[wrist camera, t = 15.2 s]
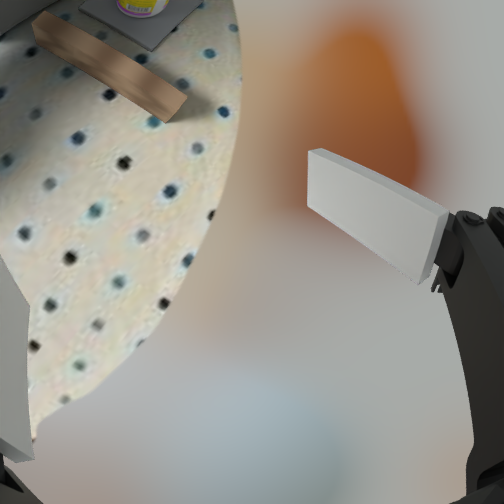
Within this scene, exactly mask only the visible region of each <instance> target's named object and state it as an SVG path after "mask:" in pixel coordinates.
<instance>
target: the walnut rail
mask: <svg viewBox="0 0 504 504" xmlns="http://www.w3.org/2000/svg"><path fill="white" fill-rule="evenodd" d="M31 24H32V28H33V32H34V36H35V40H36V43H37V45H39V46H41V47H43V48H45V49H46V50H48V51H50V52H52V53H53V54H55V55H57V56H59V57H60V58H62V59H64V60H66V61H67V62H69V63H71V64H72V65H74V66H76V67H77V68H79V69H81V70H82V71H84V72H86V73H87V74H89V75H91V76H92V77H94V78H96V79H97V80H99V81H101V82H102V83H104V84H105V85H107V86H109V87H110V88H112V89H113V90H115V91H117V92H118V93H120V94H121V95H123V96H124V97H126V98H128V99H129V100H131V101H132V102H134V103H135V104H137V105H138V106H140V107H141V108H143V109H145V110H146V111H148V112H149V113H151V114H152V115H154V116H155V117H157V118H158V119H160V120H161V121H163V122H164V123H166V122H167V121H168V120H169V119H170V118H171V117H172V116H173V115H174V114H175V113H176V112H177V111H178V109H179V108H180V107H181V105H182V104H183V103H184V101H185V100H186V99H187V98H188V96H186V95H185V94H183V93H182V92H181V91H179V90H178V89H176V88H175V87H173V86H172V85H170V84H169V83H167V82H166V81H164V80H163V79H161V78H160V77H158V76H157V75H155V74H154V73H152V72H151V71H149V70H148V69H146V68H145V67H143V66H142V65H140V64H138V63H137V62H135V61H134V60H132V59H130V58H129V57H127V56H126V55H124V54H122V53H121V52H119V51H117V50H116V49H114V48H113V47H111V46H109V45H107V44H106V43H104V42H102V41H101V40H99V39H97V38H95V37H94V36H92V35H90V34H88V33H87V32H85V31H83V30H81V29H80V28H78V27H76V26H74V25H72V24H70V23H68V22H67V21H65V20H63V19H61V18H59V17H57V16H55V15H53V14H51V13H49V12H47V11H45V10H44V11H43V12H42V13H41V14H40V15H39V16H38V17H37V18H36V19H35V20H34V21H33V22H32V23H31Z"/></svg>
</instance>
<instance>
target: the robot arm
mask: <svg viewBox="0 0 504 504" xmlns="http://www.w3.org/2000/svg"><path fill="white" fill-rule="evenodd" d="M307 206H308V207H309V208H311V209H313V210H314V211H315V212H317V213H318V214H320V215H322V216H323V217H324V218H326V219H327V220H329V221H330V222H332V223H333V224H335V225H336V226H338V227H339V228H340V229H342V230H343V231H345V232H346V233H348V234H349V235H350V236H352V237H353V238H355V239H356V240H357V241H359V242H361V243H362V244H363V245H364V246H366V247H367V248H369V249H370V250H371V251H373V252H374V253H376V254H377V255H378V256H380V257H381V258H382V259H384V260H385V261H386V262H388V263H389V264H390V265H392V266H393V267H394V268H396V269H397V270H399V271H400V272H401V273H402V274H404V275H405V276H406V277H408V278H409V279H410V280H412V281H413V282H414V283H415V284H417V285H419V284H420V283H421V282H423V281H424V280H425V279H427V278H428V277H429V276H430V273H431V270H432V267H433V264H434V263H435V264H436V265H438V266H439V269H438V272H437V274H436V277H435V280H434V282H433V285H432V287H431V292H434V291H435V289H436V286H437V285H439V284H440V287H439V289H438V293H443V295H444V298H445V301H446V304H447V307H448V311H449V314H450V318H451V321H452V325H453V329H454V332H455V336H456V340H457V344H458V348H459V352H460V356H461V361H462V365H463V370H464V375H465V380H466V385H467V391H468V397H469V403H470V410H471V417H472V424H473V432H474V446H473V448H472V450H471V453H470V455H469V457H468V460H467V465H466V496H465V497H463V498H461V499H460V500H458V501H456V502H452V503H450V504H504V208H501V207H491V208H490V210H489V214H488V217H487V219H483V218H482V217H481V216H479V215H477V214H475V213H472V212H469V211H459V212H457V214H456V216H455V215H453V214H451V213H450V211H449V210H447V209H446V208H444V207H442V206H441V205H439V204H437V203H435V202H433V201H431V200H430V199H428V198H426V197H424V196H422V195H421V194H418V193H417V192H415V191H413V190H411V189H409V188H407V187H405V186H403V185H401V184H399V183H397V182H395V181H393V180H391V179H389V178H387V177H385V176H383V175H381V174H379V173H377V172H375V171H373V170H371V169H368V168H366V167H364V166H362V165H360V164H358V163H355V162H353V161H351V160H349V159H346V158H344V157H342V156H339V155H337V154H335V153H332V152H330V151H327V150H325V149H323V148H319V149H314V150H309V151H308V194H307ZM29 313H30V305H29V304H28V302H27V301H26V299H25V297H24V296H23V294H22V292H21V291H20V289H19V287H18V286H17V284H16V282H15V281H14V279H13V277H12V275H11V274H10V272H9V270H8V268H7V266H6V264H5V263H4V261H3V259H2V257H1V255H0V504H43V503H42V502H41V501H40V500H39V499H38V498H37V497H36V496H35V495H34V494H33V493H32V492H31V491H30V490H29V489H28V488H27V487H26V486H25V485H24V484H23V483H22V481H21V480H20V479H19V478H18V477H17V476H16V475H15V474H14V473H13V471H12V470H10V469H9V468H8V467H7V466H5V465H4V461H3V455H4V456H5V457H7V458H8V459H10V460H12V461H14V462H15V463H19V462H24V461H30V460H34V452H33V445H32V438H31V429H30V419H29V406H28V387H27V346H28V326H29Z"/></svg>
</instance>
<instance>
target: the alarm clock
mask: <svg viewBox="0 0 504 504" xmlns="http://www.w3.org/2000/svg"><path fill="white" fill-rule="evenodd" d="M56 1H58V0H0V36H1V35H2V34H4V33H5V32H6V31H8V30H9V29H11V28H12V27H14V26H15V25H17V24H18V23H20V22H22V21H23V20H25V19H26V18H28V17H30V16H31V15H33V14H35V13H36V12H38V11H40V10H41V9H43V8H45V7H47V6H49V5H50V4H52V3H54V2H56Z"/></svg>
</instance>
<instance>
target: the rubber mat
mask: <svg viewBox="0 0 504 504" xmlns="http://www.w3.org/2000/svg"><path fill="white" fill-rule="evenodd" d="M203 1H204V0H169V2H168V3H167V5H166V7H165V8H164V9H163V10H162V11H161V12H159V13H158V14H156V15H154V16H151V17H146V18H135V17H131V16H128V15H126V14H124V13H123V12H122V11H121V10H120V9H119V8H118V6H117V2H116V0H86V1H85V2H84V3H83V4H82V5H81V6H80V7H79V10H80V11H82V12H84V13H85V14H87V15H89V16H91V17H93V18H95V19H97V20H98V21H100V22H102V23H104V24H105V25H107V26H109V27H111V28H112V29H114V30H116V31H118V32H119V33H121V34H123V35H124V36H126V37H128V38H129V39H131V40H133V41H134V42H136V43H137V44H139V45H141V46H142V47H144V48H145V49H147V50H149V51H150V52H151V51H152V50H153V49H154V48H155V47H156V46H157V45H158V44H159V43H160V42H161V41H162V40H163V39H164V38H165V37H166V36H167V35H168V34H169V33H170V32H171V31H172V30H173V29H174V28H175V27H176V26H177V25H178V24H179V23H180V22H181V21H182V20H183V19H184V18H185V17H187V16H188V15H189V14H190V13H191V12H192V11H193V10H194V9H195V8H197V7H198V6H199V5H200V4H201V3H202V2H203Z"/></svg>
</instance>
